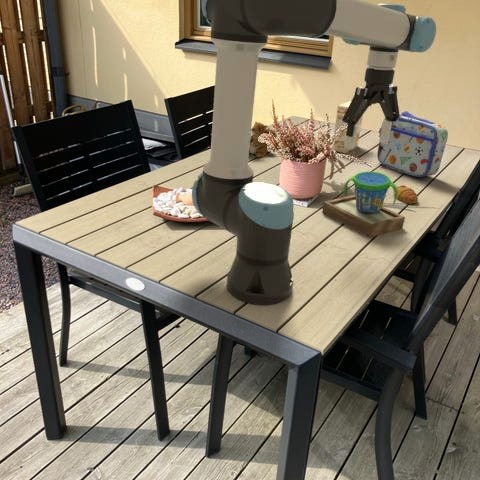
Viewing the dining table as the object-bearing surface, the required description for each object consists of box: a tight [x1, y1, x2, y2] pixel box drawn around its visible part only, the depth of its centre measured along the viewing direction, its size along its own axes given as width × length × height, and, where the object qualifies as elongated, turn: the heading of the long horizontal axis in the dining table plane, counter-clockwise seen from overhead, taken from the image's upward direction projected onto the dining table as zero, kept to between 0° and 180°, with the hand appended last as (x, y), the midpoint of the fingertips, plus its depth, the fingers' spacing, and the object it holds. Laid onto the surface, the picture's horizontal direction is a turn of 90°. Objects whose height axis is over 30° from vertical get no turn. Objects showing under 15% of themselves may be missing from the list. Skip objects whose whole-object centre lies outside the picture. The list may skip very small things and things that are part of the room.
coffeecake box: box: [331, 100, 364, 154], centre depth 218 cm, size 15×7×20 cm, turn 147°
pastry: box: [392, 184, 419, 204], centre depth 169 cm, size 9×7×4 cm
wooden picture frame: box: [322, 194, 406, 238], centre depth 151 cm, size 14×20×4 cm
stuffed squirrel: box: [249, 121, 278, 158], centre depth 206 cm, size 10×14×13 cm
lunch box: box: [376, 111, 449, 178], centre depth 193 cm, size 28×10×22 cm, turn 34°
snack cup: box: [343, 171, 398, 214], centre depth 149 cm, size 16×10×10 cm
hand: (366, 145), depth 142 cm, fingers open, 13 cm apart
